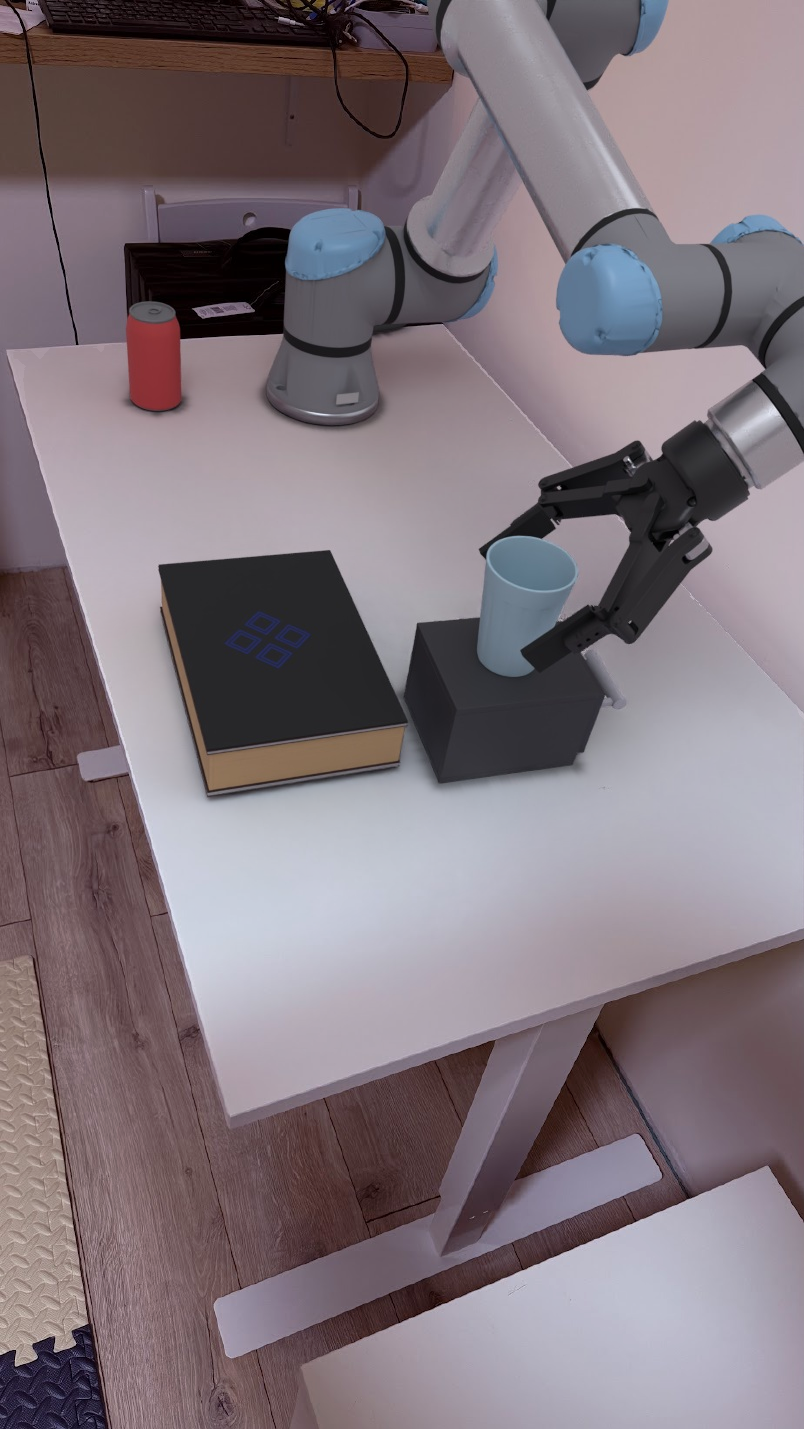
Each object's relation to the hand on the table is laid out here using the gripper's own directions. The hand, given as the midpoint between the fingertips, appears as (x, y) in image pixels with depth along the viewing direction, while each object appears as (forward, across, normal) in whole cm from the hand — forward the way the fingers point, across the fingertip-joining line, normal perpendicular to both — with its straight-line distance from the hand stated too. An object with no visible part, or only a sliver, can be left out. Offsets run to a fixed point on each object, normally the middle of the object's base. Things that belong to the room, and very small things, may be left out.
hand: (507, 608), depth 86 cm
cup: (+3, 0, -5) cm, 6 cm away
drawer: (+7, 0, -13) cm, 15 cm away
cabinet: (+10, 0, -11) cm, 15 cm away
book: (+24, +6, +2) cm, 25 cm away
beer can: (+30, +62, +9) cm, 70 cm away
